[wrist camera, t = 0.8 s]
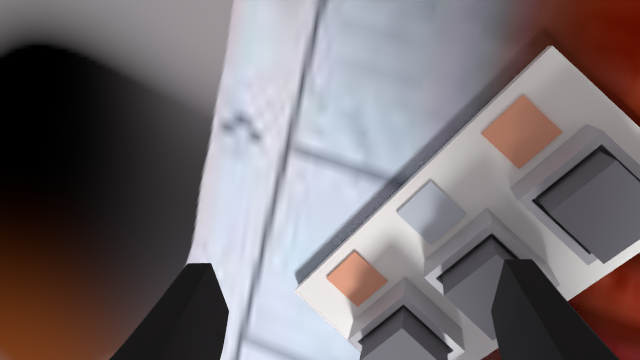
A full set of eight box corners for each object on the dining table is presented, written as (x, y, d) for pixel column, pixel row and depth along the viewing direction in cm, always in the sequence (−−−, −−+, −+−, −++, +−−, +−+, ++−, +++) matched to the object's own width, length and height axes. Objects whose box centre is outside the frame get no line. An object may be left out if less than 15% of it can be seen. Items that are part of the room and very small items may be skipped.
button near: (645, 196, 24) (674, 215, 21) (583, 240, 25) (603, 264, 22) (594, 147, 24) (616, 160, 21) (535, 195, 25) (548, 213, 22)
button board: (705, 194, 25) (747, 215, 22) (416, 393, 34) (415, 429, 31) (547, 45, 25) (566, 45, 22) (298, 284, 34) (284, 309, 30)
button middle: (535, 275, 26) (548, 302, 24) (486, 311, 28) (492, 340, 25) (489, 232, 26) (496, 254, 23) (441, 271, 28) (443, 295, 25)
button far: (446, 340, 29) (448, 371, 26) (405, 370, 31) (403, 402, 28) (404, 301, 29) (401, 327, 26) (365, 333, 30) (359, 361, 28)
